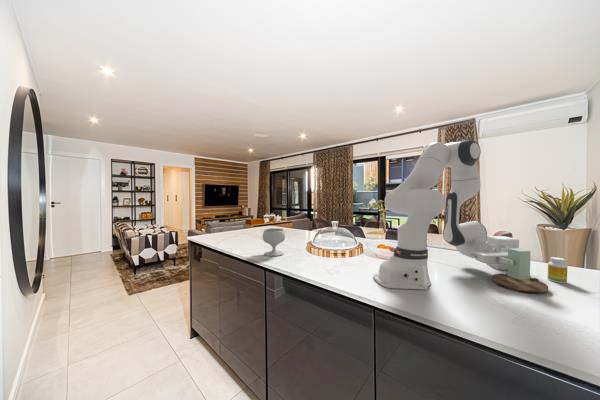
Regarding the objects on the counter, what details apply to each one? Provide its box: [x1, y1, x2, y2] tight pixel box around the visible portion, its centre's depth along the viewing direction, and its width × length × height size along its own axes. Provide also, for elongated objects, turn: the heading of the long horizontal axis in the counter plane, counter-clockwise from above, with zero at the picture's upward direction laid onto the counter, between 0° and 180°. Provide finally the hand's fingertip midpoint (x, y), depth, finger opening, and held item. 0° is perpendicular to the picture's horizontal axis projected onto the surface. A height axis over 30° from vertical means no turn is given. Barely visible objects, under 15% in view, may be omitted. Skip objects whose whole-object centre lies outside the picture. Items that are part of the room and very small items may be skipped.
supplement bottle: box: [547, 256, 568, 284], centre depth 94 cm, size 5×5×10 cm
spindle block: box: [507, 247, 531, 280], centre depth 89 cm, size 4×4×11 cm
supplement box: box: [486, 235, 520, 271], centre depth 111 cm, size 9×9×15 cm
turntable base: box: [498, 284, 541, 294], centre depth 89 cm, size 13×13×1 cm
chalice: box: [261, 227, 286, 257], centre depth 138 cm, size 14×14×15 cm
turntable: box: [491, 273, 549, 293], centre depth 89 cm, size 16×16×2 cm
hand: (521, 262), depth 88 cm, fingers closed on spindle block, 4 cm apart
